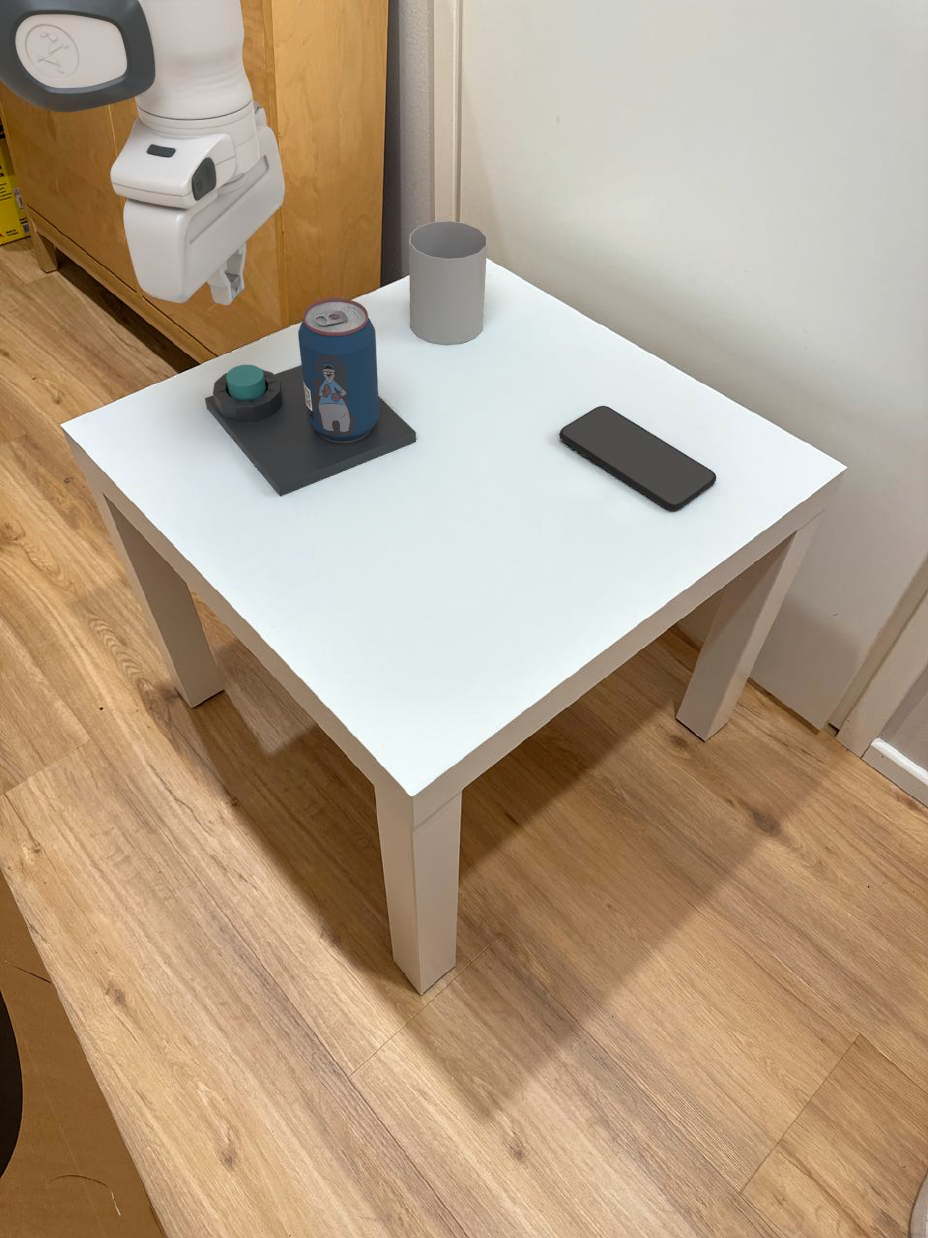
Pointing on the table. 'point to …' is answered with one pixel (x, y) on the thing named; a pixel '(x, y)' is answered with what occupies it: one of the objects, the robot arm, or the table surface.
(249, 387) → the tare button
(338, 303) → the soda can
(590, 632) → the table surface
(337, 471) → the scale
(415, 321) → the cup
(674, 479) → the smartphone
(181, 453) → the table surface
